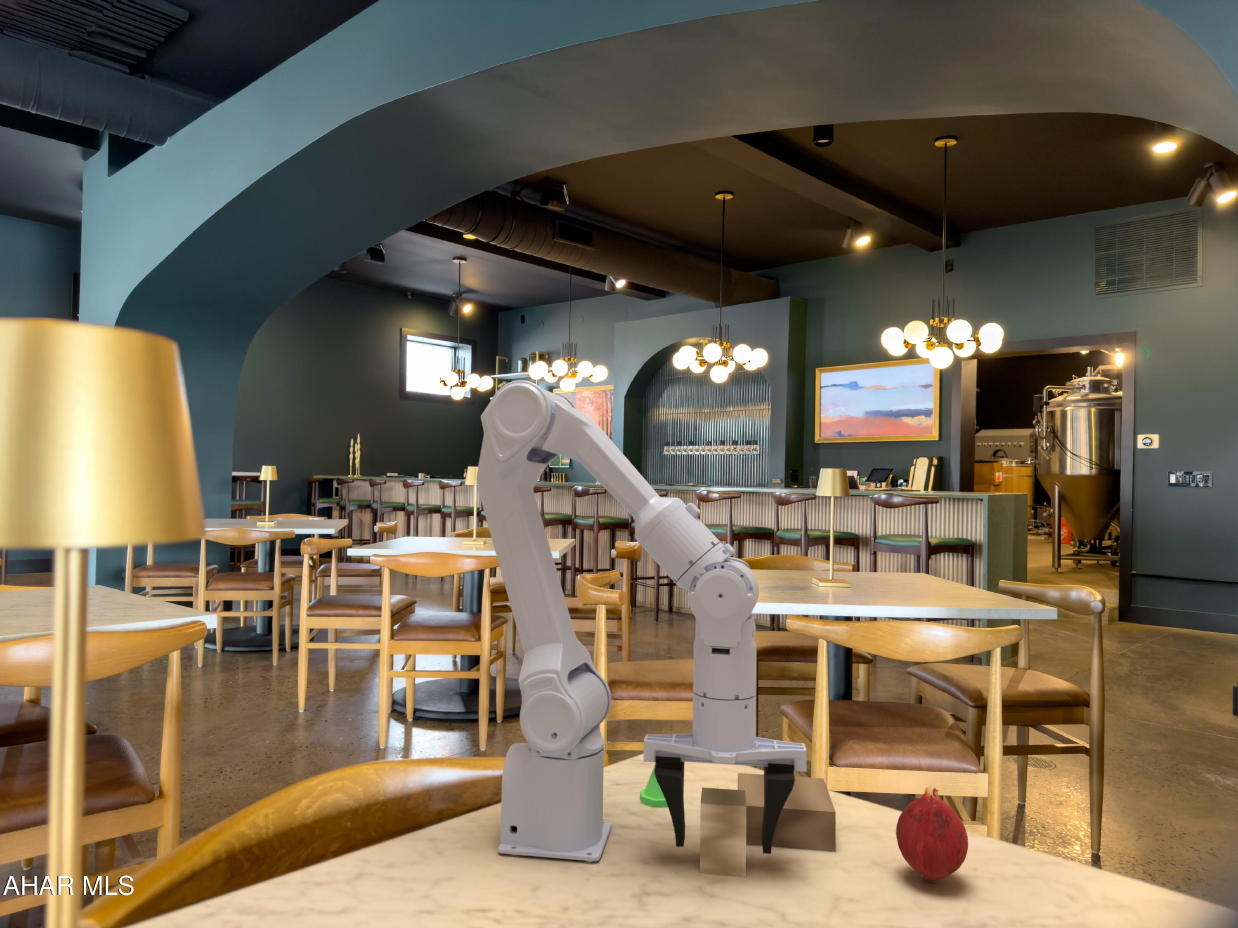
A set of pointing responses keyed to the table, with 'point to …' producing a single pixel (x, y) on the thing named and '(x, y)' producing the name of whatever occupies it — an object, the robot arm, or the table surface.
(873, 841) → the table surface
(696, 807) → the table surface
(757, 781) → the walnut block
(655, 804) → the game piece
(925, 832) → the onion
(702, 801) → the maple block
